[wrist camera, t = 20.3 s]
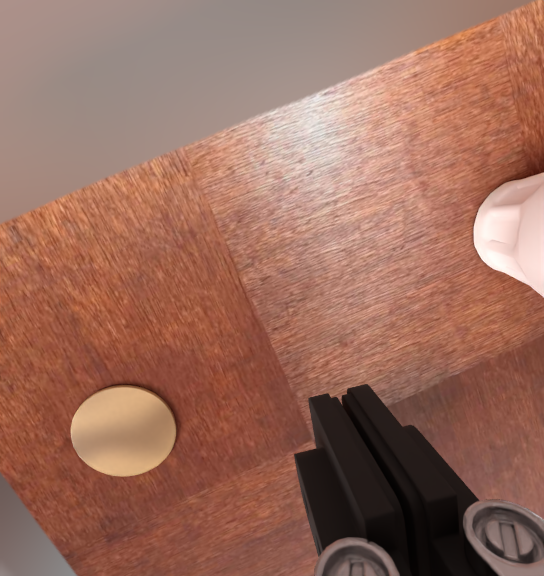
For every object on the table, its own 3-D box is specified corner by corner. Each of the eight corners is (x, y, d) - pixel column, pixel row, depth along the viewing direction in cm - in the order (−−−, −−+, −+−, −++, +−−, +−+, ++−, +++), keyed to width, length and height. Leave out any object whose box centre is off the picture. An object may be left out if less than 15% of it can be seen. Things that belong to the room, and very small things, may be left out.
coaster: (49, 425, 32) (47, 428, 31) (131, 365, 32) (130, 367, 31) (119, 490, 34) (118, 493, 34) (196, 435, 34) (196, 437, 33)
